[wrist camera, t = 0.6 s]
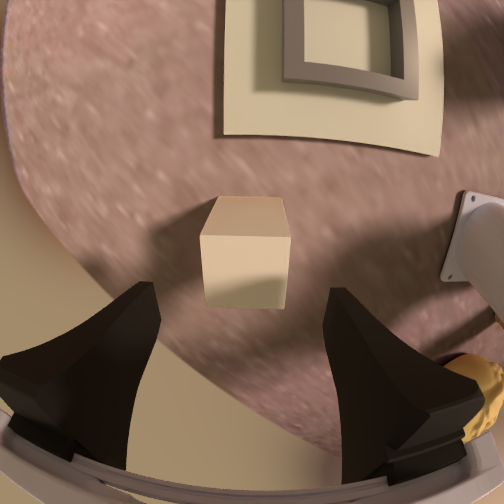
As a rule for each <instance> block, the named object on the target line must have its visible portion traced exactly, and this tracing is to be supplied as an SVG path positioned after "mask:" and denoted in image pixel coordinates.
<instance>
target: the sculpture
mask: <svg viewBox="0 0 504 504" xmlns="http://www.w3.org/2000/svg"><path fill="white" fill-rule="evenodd" d="M443 367H445V368H447V369H449V370H451V371H453V372H456V373H458V374H461V375H463V376H466V377H469V378H471V379H474V380H476V381H477V383H478V385H479V387H480V389H481V391H482V393H483V395H484V397H485V403H484V406H483V407H482V409H481V410H480V411H479V413H478V414H477V415H476V416H475V417H474V418H473V419H472V420H471V421H470V422H469V423H468V424H467V425H466V426H465V427H464V428H463V429H464V432H465V437H464V438H462V441H463V442H466V443H467V442H469V441H471V440H472V439H474V438H476V437H478V436H479V434H480V433H481V432H482V431H484V430H487V429H488V428H490V427H491V426H492V425H494V423H495V421H496V419H497V416H498V413H499V410H500V407H501V406H502V404H503V400H504V373H503V371H502V368H501V367H500V366H498V365H497V363H495V362H489V361H488V360H486V359H484V358H482V357H480V356H477V355H473V354H465V355H462V356H459V357H457V358H455V359H454V360H452V361H450V362H449V363H447V364H446V365H445V366H443Z"/></svg>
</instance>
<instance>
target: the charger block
mask: <svg viewBox="0 0 504 504" xmlns="http://www.w3.org/2000/svg"><path fill="white" fill-rule="evenodd" d="M290 243H291V235H290V231H289V226H288V222H287V218H286V213H285V209H284V205H283V201H282V197H245V196H218V198H217V200H216V202H215V204H214V206H213V208H212V210H211V213H210V215H209V217H208V219H207V221H206V223H205V225H204V227H203V229H202V231H201V233H200V247H201V259H202V270H203V281H204V291H205V301H206V307H227V308H256V309H284V308H285V298H286V288H287V278H288V267H289V255H290Z"/></svg>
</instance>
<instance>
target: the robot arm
mask: <svg viewBox="0 0 504 504" xmlns="http://www.w3.org/2000/svg"><path fill="white" fill-rule="evenodd" d="M472 196H473V198H472ZM471 198H472V200H471ZM449 275H450V276H449ZM440 279H441V280H442V281H443V282H455V281H469V282H470V283H471V285H472V286H473V287H474V288H475V289H476V290H477V291H478V293H479V294H480V295H481V296H482V297H483V298H484V300H485V301H486V302H487V303H488V304H489V306H490V307H491V308H492V309H493V310H494V312H495V313H496V314H497V315H498V317H499V318H500V319H501V321H502V322H503V323H504V199H503V198H499V197H495V196H491V195H487V194H482V193H478V192H474V191H469V190H466V191H465V192H464V193H463V196H462V201H461V206H460V210H459V214H458V218H457V222H456V226H455V230H454V233H453V237H452V240H451V244H450V247H449V250H448V253H447V257H446V260H445V263H444V266H443V269H442V271H441V274H440ZM160 323H161V316H160V312H159V308H158V303H157V299H156V294H155V290H154V285H153V282H142V281H140V282H138V283H137V284H135V285H134V286H132V287H131V288H130V289H128V290H127V291H126V292H124V293H123V294H122V295H120V296H119V297H118V298H117V299H115V300H114V301H113V302H111V303H110V304H109V305H107V306H106V307H105V308H103V309H102V310H101V311H99V312H98V313H96V314H95V315H94V316H92V317H91V318H89V319H88V320H86V321H85V322H83V323H82V324H80V325H79V326H77V327H75V328H74V329H72V330H70V331H68V332H66V333H65V334H63V335H61V336H58V337H56V338H54V339H52V340H50V341H48V342H46V343H44V344H41V345H39V346H36V347H33V348H30V349H28V350H25V351H21V352H18V353H14V354H11V355H7V356H3V357H2V358H1V360H0V397H1V398H2V399H3V400H4V402H5V403H6V404H7V405H8V406H9V407H10V408H11V409H12V410H13V411H14V414H13V416H12V417H11V416H10V415H8V414H7V413H6V412H5V411H3V410H1V409H0V472H1V473H2V474H3V475H5V476H6V477H7V478H8V479H10V480H11V481H12V482H13V483H15V484H16V485H17V486H18V487H20V488H21V489H23V490H24V491H25V492H27V493H28V494H29V495H31V496H32V497H34V498H35V499H37V500H38V501H40V502H41V503H43V504H146V503H143V502H141V501H139V500H137V499H135V498H134V497H132V496H131V495H130V494H127V493H124V492H122V491H119V490H117V489H114V488H112V487H109V486H107V485H110V486H113V487H116V488H118V489H122V490H125V491H128V492H132V493H135V494H139V495H143V496H146V497H150V498H154V499H159V500H163V501H168V502H173V503H178V504H472V503H474V502H476V501H477V500H479V499H480V498H482V497H484V496H485V495H487V494H488V493H490V492H491V491H492V490H494V489H496V488H497V487H498V486H500V485H501V484H502V483H504V467H503V464H502V461H501V458H500V455H499V452H498V449H497V447H496V444H495V441H494V439H493V436H492V434H491V432H490V431H489V432H486V433H485V434H483V435H481V436H479V437H477V438H474V439H472V440H471V441H469V442H467V443H466V444H465V445H464V444H463V441H462V438H464V437H465V432H464V429H463V428H464V427H465V426H466V425H467V424H468V423H469V422H470V421H471V420H472V419H473V418H474V417H475V416H476V415H477V414H478V413H479V411H480V410H481V409H482V407H483V406H484V403H485V397H484V395H483V393H482V391H481V389H480V387H479V385H478V383H477V381H476V380H474V379H471V378H469V377H466V376H463V375H461V374H458V373H456V372H453V371H451V370H449V369H447V368H445V367H443V366H441V365H439V364H437V363H435V362H434V361H432V360H430V359H428V358H427V357H425V356H424V355H422V354H420V353H419V352H417V351H416V350H414V349H413V348H411V347H410V346H408V345H407V344H406V343H404V342H403V341H402V340H400V339H399V338H398V337H397V336H395V335H394V334H393V333H392V332H391V331H389V330H388V329H387V328H386V327H385V326H384V325H383V324H381V323H380V322H379V321H378V320H377V319H376V318H375V317H374V316H373V315H372V314H371V313H370V312H369V311H368V310H367V309H366V308H365V307H364V306H363V305H362V304H361V303H360V302H359V301H358V300H357V299H356V298H355V297H354V296H353V295H352V294H351V293H350V292H349V291H348V290H347V289H346V288H330V293H329V298H328V303H327V308H326V312H325V317H324V321H323V333H324V341H325V347H326V351H327V355H328V359H329V363H330V367H331V371H332V375H333V379H334V383H335V387H336V391H337V396H338V403H339V412H340V422H341V436H342V484H341V485H337V486H331V487H323V488H313V489H301V490H282V491H249V490H230V489H217V488H207V487H199V486H192V485H186V484H180V483H174V482H169V481H164V480H159V479H154V478H150V477H146V476H142V475H138V474H134V473H131V472H127V471H125V470H126V457H127V443H128V436H129V429H130V422H131V417H132V412H133V406H134V402H135V397H136V393H137V389H138V386H139V383H140V380H141V378H142V375H143V372H144V370H145V367H146V365H147V362H148V359H149V357H150V355H151V352H152V349H153V347H154V344H155V342H156V339H157V335H158V331H159V327H160ZM106 484H107V485H106Z"/></svg>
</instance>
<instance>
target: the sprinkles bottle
mask: <svg viewBox="0 0 504 504" xmlns="http://www.w3.org/2000/svg"><path fill="white" fill-rule="evenodd" d="M495 320H496V321H497V322H498V323H499V324H500V325H501V326H502V328H503V329H504V323H503V322H502V321H501V319H500V318H499V317H498V315H497V314H496V313H495Z"/></svg>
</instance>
